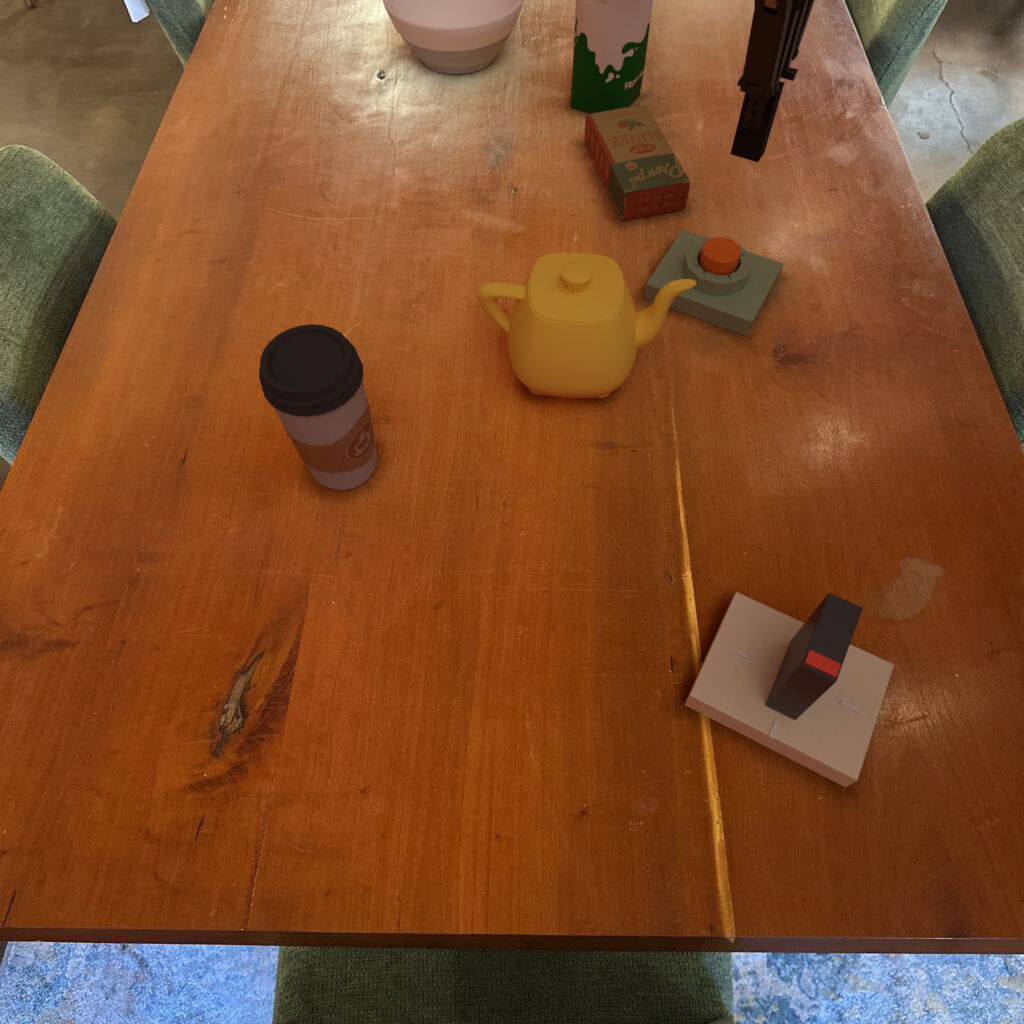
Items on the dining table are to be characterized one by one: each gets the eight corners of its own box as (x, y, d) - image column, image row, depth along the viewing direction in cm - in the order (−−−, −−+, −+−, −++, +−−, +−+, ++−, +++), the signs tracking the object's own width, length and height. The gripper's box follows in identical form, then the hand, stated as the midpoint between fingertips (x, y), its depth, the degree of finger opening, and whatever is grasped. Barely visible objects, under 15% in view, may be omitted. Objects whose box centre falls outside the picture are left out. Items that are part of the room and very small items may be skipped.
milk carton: (590, 77, 107) (601, -94, 90) (649, 94, 104) (672, -78, 87) (560, 109, 103) (566, -63, 86) (621, 128, 100) (640, -46, 83)
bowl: (383, 92, 106) (373, 29, 99) (399, 19, 116) (391, -43, 109) (523, 92, 105) (523, 29, 98) (527, 19, 115) (527, -44, 108)
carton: (643, 134, 100) (648, 102, 96) (686, 211, 92) (693, 179, 88) (582, 144, 99) (584, 112, 95) (620, 223, 91) (624, 191, 87)
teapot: (676, 421, 75) (701, 330, 65) (475, 410, 76) (467, 319, 66) (673, 322, 82) (694, 226, 72) (489, 313, 83) (483, 217, 73)
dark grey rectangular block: (790, 640, 61) (829, 590, 53) (820, 654, 60) (864, 606, 52) (764, 705, 58) (801, 663, 50) (795, 720, 57) (837, 680, 49)
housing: (778, 278, 85) (788, 249, 82) (747, 336, 81) (756, 308, 77) (678, 244, 89) (684, 215, 85) (643, 299, 84) (648, 270, 81)
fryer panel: (882, 673, 62) (895, 662, 59) (845, 789, 57) (858, 781, 55) (729, 603, 65) (737, 589, 63) (683, 706, 61) (689, 695, 58)
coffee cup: (355, 515, 70) (316, 413, 58) (283, 479, 73) (230, 373, 60) (404, 450, 74) (378, 341, 61) (335, 418, 76) (295, 306, 63)
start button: (742, 257, 82) (746, 244, 80) (729, 280, 80) (733, 267, 79) (707, 245, 83) (711, 232, 81) (693, 267, 81) (696, 254, 80)
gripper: (810, -216, 54) (734, 105, 75) (744, -148, 49) (681, 181, 69) (917, -200, 52) (809, 126, 73) (862, -126, 47) (761, 206, 67)
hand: (747, 153), depth 71 cm, fingers closed
